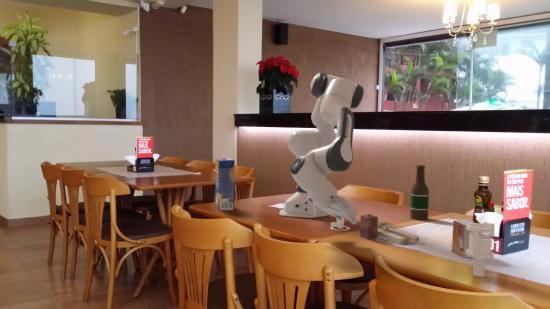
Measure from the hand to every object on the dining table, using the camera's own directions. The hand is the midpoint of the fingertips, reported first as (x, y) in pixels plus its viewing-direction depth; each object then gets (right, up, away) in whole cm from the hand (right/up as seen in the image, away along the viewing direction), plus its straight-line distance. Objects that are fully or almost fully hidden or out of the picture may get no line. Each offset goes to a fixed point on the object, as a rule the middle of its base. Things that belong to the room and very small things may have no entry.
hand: (347, 220), depth 171 cm
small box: (+36, -9, -17) cm, 41 cm away
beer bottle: (+39, -5, +43) cm, 58 cm away
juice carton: (-51, -3, +64) cm, 82 cm away
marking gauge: (+12, -7, +6) cm, 15 cm away
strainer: (+31, -10, -39) cm, 50 cm away
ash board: (+17, -7, +4) cm, 19 cm away
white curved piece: (+2, -6, +23) cm, 24 cm away
